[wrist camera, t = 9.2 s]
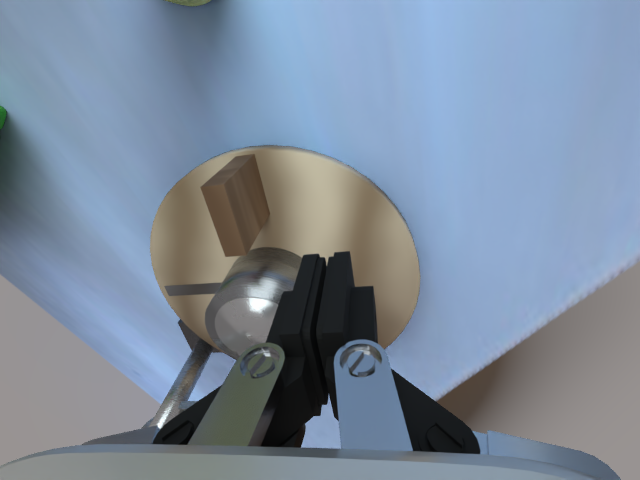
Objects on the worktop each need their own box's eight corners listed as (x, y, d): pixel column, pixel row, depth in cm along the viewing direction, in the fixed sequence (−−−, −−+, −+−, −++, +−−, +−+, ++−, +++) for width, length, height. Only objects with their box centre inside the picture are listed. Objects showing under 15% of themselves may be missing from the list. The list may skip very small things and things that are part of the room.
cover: (310, 242, 23) (298, 284, 19) (329, 318, 26) (322, 368, 22) (216, 251, 24) (187, 292, 20) (245, 323, 28) (225, 370, 24)
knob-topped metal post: (294, 310, 30) (254, 455, 19) (303, 342, 32) (271, 490, 21) (183, 315, 32) (92, 448, 21) (197, 344, 34) (121, 480, 23)
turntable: (414, 123, 19) (431, 154, 14) (420, 361, 29) (431, 433, 24) (113, 165, 23) (36, 202, 18) (208, 363, 33) (177, 425, 27)
